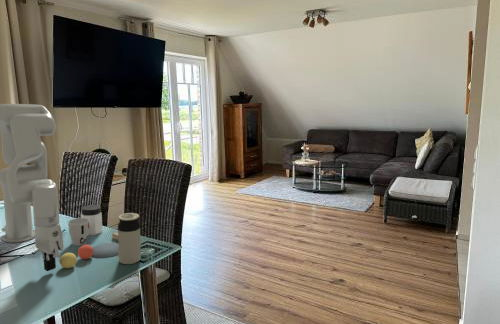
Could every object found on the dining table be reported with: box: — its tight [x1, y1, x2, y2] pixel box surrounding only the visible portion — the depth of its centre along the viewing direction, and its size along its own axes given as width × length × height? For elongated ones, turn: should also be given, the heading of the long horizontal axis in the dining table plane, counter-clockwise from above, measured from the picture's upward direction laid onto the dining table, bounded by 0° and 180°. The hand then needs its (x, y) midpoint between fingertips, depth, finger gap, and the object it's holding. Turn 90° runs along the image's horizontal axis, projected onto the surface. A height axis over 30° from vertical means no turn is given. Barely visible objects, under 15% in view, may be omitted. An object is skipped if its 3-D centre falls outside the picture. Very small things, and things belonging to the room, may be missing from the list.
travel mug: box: [117, 212, 142, 265], centre depth 132 cm, size 8×8×18 cm
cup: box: [67, 217, 89, 247], centre depth 146 cm, size 8×8×10 cm
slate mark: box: [90, 242, 119, 259], centre depth 142 cm, size 14×14×1 cm
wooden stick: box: [111, 231, 142, 247], centre depth 150 cm, size 2×16×2 cm, turn 59°
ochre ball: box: [59, 252, 78, 269], centre depth 126 cm, size 6×6×6 cm
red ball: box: [77, 244, 94, 260], centre depth 133 cm, size 6×6×6 cm
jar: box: [80, 204, 103, 236], centre depth 159 cm, size 9×8×12 cm
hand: (50, 269), depth 122 cm, fingers closed
